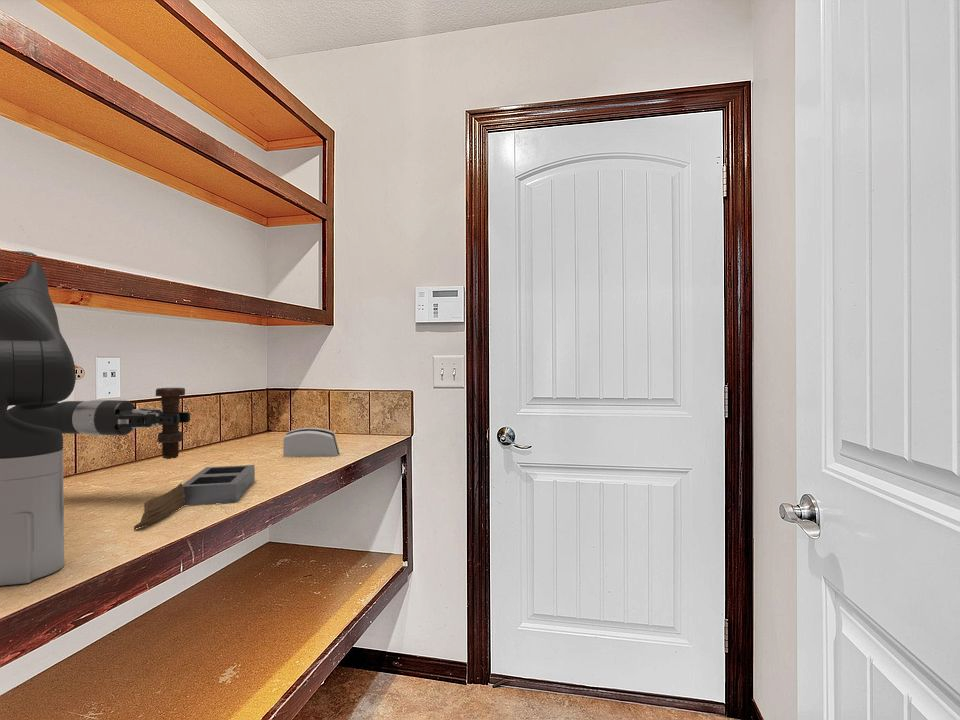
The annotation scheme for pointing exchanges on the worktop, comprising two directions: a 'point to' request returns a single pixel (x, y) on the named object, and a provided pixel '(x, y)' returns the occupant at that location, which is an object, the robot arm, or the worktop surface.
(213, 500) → the two-slot grey tray
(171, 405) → the bolt
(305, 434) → the grey napkin holder
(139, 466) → the worktop surface
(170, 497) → the wood plank
